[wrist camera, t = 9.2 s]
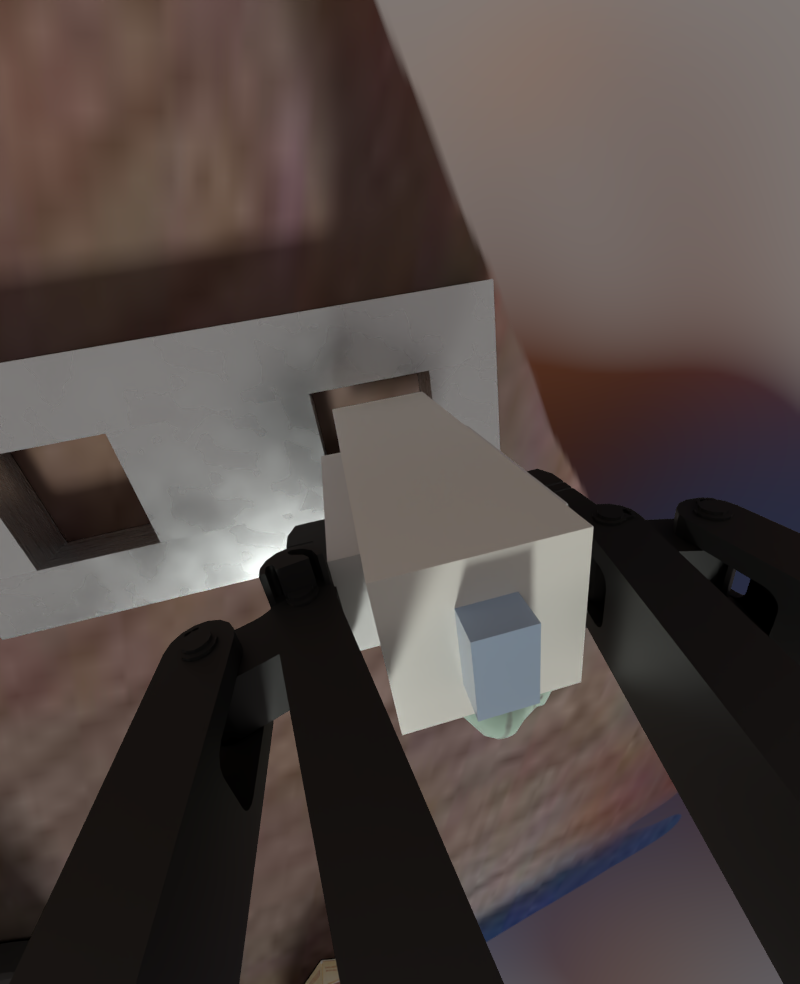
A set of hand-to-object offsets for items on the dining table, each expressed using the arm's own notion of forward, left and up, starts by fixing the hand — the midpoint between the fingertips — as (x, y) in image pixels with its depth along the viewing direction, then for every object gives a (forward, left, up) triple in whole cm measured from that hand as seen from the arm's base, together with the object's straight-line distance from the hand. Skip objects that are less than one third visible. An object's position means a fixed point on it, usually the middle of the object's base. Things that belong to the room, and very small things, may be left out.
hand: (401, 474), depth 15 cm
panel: (-7, 0, -7) cm, 10 cm away
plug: (0, 0, -4) cm, 4 cm away
